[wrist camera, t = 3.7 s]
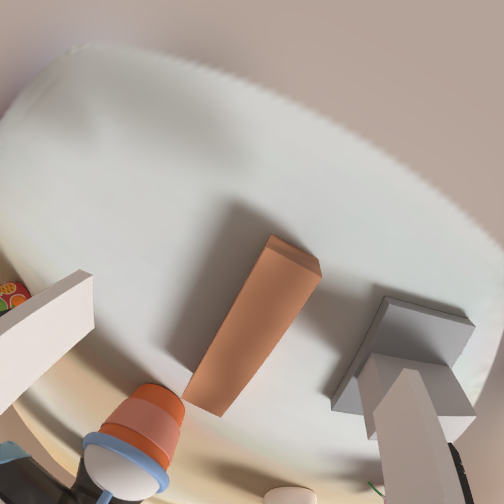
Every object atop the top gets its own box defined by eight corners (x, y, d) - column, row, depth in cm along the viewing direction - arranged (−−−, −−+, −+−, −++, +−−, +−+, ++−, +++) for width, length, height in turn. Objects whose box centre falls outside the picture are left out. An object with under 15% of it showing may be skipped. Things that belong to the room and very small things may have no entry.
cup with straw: (197, 434, 29) (148, 554, 12) (131, 412, 30) (66, 514, 13) (198, 386, 27) (127, 536, 10) (121, 362, 28) (28, 477, 11)
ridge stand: (330, 400, 25) (334, 469, 17) (384, 295, 21) (420, 358, 13) (410, 410, 24) (428, 469, 16) (468, 319, 20) (513, 371, 12)
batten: (194, 371, 27) (180, 397, 23) (271, 232, 22) (266, 246, 18) (229, 389, 27) (220, 417, 23) (318, 258, 22) (322, 277, 18)
